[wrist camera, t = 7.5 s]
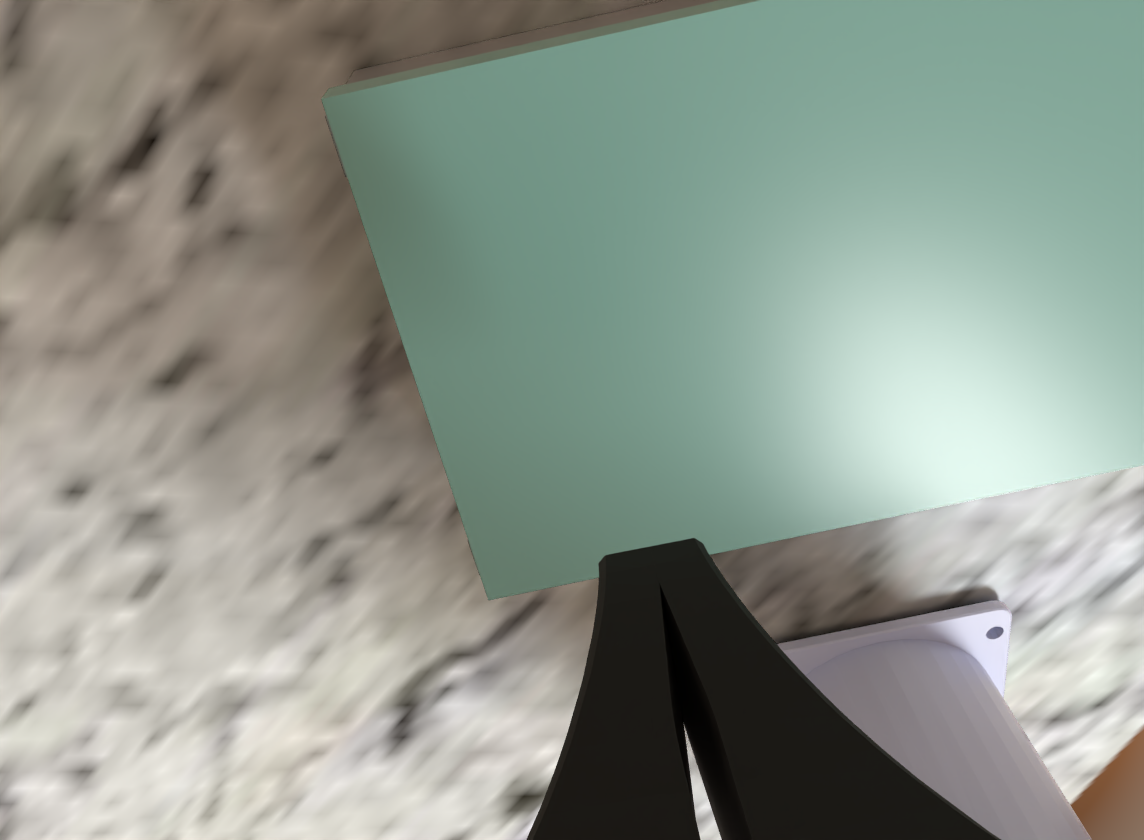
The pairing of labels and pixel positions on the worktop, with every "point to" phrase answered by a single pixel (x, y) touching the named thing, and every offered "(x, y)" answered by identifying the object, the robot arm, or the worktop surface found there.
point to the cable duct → (670, 3)
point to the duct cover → (762, 267)
